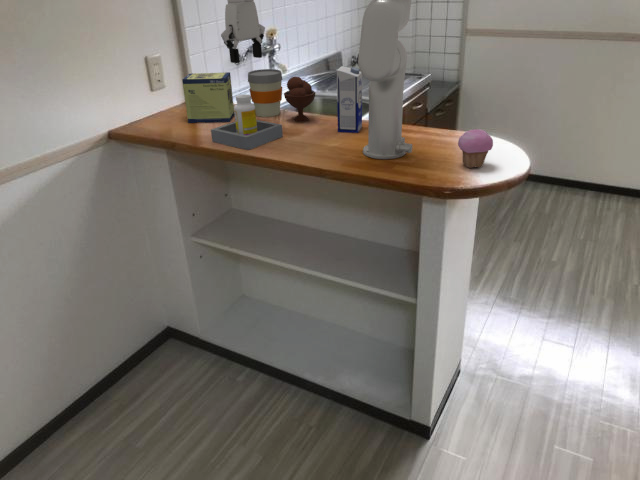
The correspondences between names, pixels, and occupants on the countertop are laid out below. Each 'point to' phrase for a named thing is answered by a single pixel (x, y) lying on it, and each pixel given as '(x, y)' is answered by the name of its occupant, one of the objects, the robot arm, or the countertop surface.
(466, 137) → the cupcake
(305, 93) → the ice cream bowl
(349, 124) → the milk carton
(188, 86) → the protein box
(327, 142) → the countertop surface
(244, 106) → the supplement bottle
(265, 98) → the reusable coffee cup
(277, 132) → the gray rectangular tray
